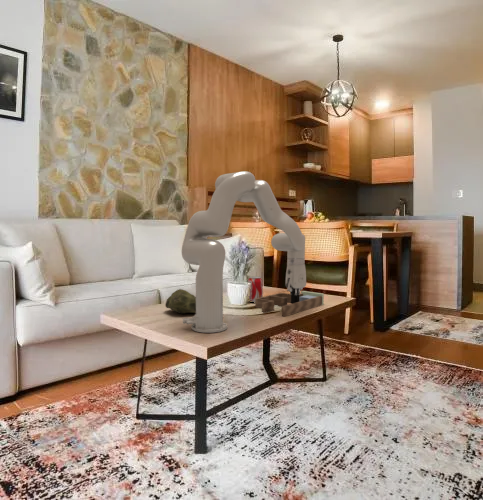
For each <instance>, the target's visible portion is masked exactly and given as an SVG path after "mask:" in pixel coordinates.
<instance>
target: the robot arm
mask: <svg viewBox="0 0 483 500" xmlns="http://www.w3.org/2000/svg"><path fill="white" fill-rule="evenodd" d="M214 187H215V190H214V191H213V194H212V196H211V200H210V202H209V206H208V208H207V210H199V211H196V212H195V213H194V214H193V215H192V216H191V217H190V219H189V221H188V224H187V228H186V230H185V231H186V232H185V234H184V238H183V242H182V247H181V256H182V259H183V260H184V262H185V263H186V264H189V265H192V266H193V265H194V266H198V269H197V271H196V276H195V297H196V313H195V314H194V315H193V316H191V317H183V318H182V324H183V325H184V324H185V325H191V330H192V331H194V332H197V333H204V334H209V333H211V334H213V333H219V332H223V331H225V330H227V329H228V324H227V323H226V322H224V317H223V316H224V313H223V312H224V311H223V310H224V309H223V308H224V304H223V303H224V298H223V297H224V292H223V291H224V290H223V287H224V285H223V281H224V280H223V278H224V275H223V274H224V264H225V260H226V249H225V247H224V245H223V244H222V242H220V241H218V240H216V239H211V238H212V237H213V238H218V237H223V236H225V235H226V234H227V232H228V229H229V226H230V223H231V219H232V215H233V210H234V207H235V204H236V203H237V202H241V203H253V204H254V206H255V207H256V209H257V211H258V213H259V216H260V217H261V219H262V221H264V222H265V223H266V224H269V225H271V226H273V227H275V228H277V229H279V230H280V231H282V232H281V233H280V232H278V233H276V234H273V236H272V238H271V240H270V242H271V247H272V248H273V249H275V250H276V251H278V252H279V251H281V252H282V251H283V252H287V255H286V256H287V257H286V258H287V260H286V261H287V262H286V272H285V287H286V288H287V289H286V291H287V292H288V293H289V292H290V293H289V294H291V303H290V304H292V303H296V302H299V295H300V293H301V291H303V288H305V287H306V286H307V272H306V271H307V270H306V264H305V260H306V259H305V258H306V257H305V255H306V236H305V235H304V234H303V233H302V230H301V228H300V226H299V224H298V223H297V222H296V221H295V220H294V219H293V218H292V217H291V216H289V215H288V214H287V213H286V212H284V211H283V210H282V209H281V207H280V205H279V203H278V201H277V198H276V197H275V195H274V193H273V191H272V188H271V186H270V184H269V183H268V182H267V181H265V180H264V179H263V180H262V179H256V176H255V175H254V174H253V173H252V172H250V171H245V170H243V171H237V172H232V173H231V172H230V173H224V174H221V175H219V176H218V177H217V178H216V179H215V183H214ZM208 237H209V238H208ZM210 237H211V238H210Z"/></svg>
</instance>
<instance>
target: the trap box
mask: <svg viewBox="0 0 483 500" xmlns="http://www.w3.org/2000/svg"><path fill="white" fill-rule="evenodd" d="M301 296H303V294H302V293H301V292H300V295H299V297H301ZM254 305H255V306H254V307H255V308H256V309H261V313H262V312H263V314H264V313H265V314H266V313H269V312H271V311H272V310H273V311H274V310H275V305H278V306H277V307H280V308H281V317H287V316H291V315H294V314H297V312H298V313H300V311H301V312H304V311H307V310H311V309H314V308H316V307H320V306H323V305H322V296H318V297H314V298H311V299H307V300H303V301H300V302H296V303H291V294H290V293H285V292H278V293H274V294H270V295H269V294H268V295H265V296H263V297H260V298H255V303H254ZM268 311H269V312H268Z"/></svg>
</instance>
